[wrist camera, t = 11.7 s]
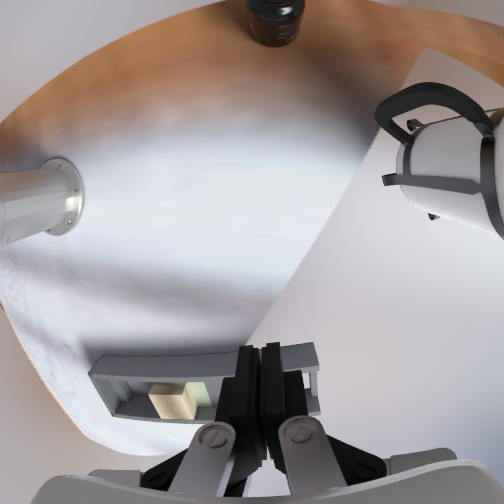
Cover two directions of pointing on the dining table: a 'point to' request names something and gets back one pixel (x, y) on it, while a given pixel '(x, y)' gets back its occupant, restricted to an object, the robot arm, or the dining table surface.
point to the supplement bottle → (274, 20)
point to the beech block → (174, 400)
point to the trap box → (187, 380)
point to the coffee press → (449, 157)
